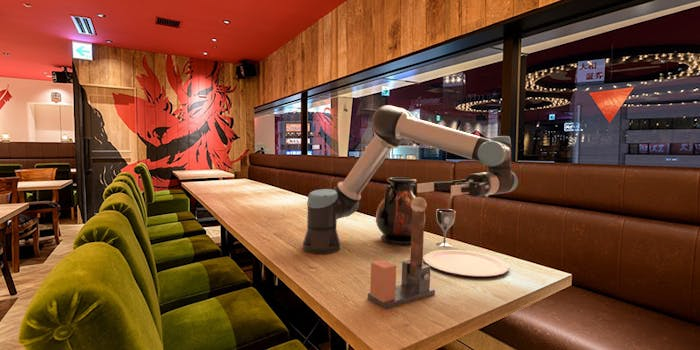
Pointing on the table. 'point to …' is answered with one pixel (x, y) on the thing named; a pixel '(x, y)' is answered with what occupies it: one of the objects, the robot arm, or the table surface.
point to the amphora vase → (397, 211)
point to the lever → (417, 233)
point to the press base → (409, 287)
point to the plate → (466, 263)
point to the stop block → (383, 280)
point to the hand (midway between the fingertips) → (433, 189)
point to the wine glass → (445, 223)
